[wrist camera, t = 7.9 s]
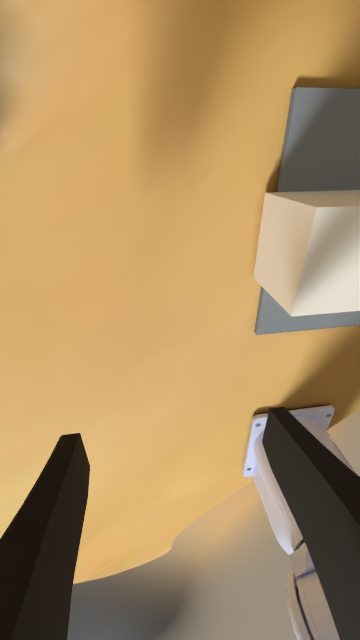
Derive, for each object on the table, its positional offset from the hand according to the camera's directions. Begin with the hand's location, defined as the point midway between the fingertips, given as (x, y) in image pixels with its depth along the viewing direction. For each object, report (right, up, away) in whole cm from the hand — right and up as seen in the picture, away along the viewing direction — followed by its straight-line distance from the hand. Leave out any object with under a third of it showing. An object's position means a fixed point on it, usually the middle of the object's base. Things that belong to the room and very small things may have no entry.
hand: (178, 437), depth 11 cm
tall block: (+5, +8, +4) cm, 10 cm away
